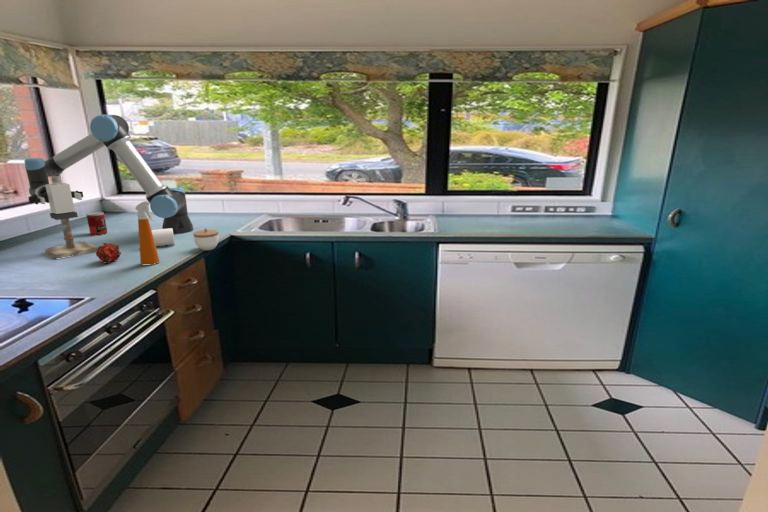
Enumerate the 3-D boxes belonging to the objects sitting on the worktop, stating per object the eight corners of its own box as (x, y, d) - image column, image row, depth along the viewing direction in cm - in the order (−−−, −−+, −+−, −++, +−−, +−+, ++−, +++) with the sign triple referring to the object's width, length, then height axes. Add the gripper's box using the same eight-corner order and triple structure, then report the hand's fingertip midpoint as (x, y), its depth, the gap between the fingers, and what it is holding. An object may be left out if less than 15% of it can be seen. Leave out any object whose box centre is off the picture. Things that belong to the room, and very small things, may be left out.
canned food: (99, 236, 230) (95, 215, 227) (86, 235, 232) (82, 214, 229) (111, 232, 238) (107, 212, 234) (98, 231, 239) (94, 211, 236)
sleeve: (69, 209, 202) (64, 182, 198) (75, 211, 197) (69, 184, 194) (51, 212, 196) (45, 184, 193) (56, 213, 192) (50, 185, 189)
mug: (175, 246, 211) (172, 230, 208) (151, 249, 207) (148, 232, 204) (174, 240, 221) (171, 224, 219) (151, 243, 217) (149, 227, 215)
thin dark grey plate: (71, 214, 203) (70, 210, 202) (77, 217, 198) (76, 212, 198) (50, 217, 197) (49, 213, 197) (56, 220, 192) (55, 215, 192)
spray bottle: (152, 268, 179) (141, 203, 172) (137, 264, 185) (126, 200, 177) (168, 263, 185) (159, 200, 177) (153, 259, 191) (143, 198, 183)
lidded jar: (196, 253, 200) (194, 232, 197) (194, 247, 209) (191, 227, 206) (221, 249, 205) (219, 229, 202) (218, 244, 214) (216, 225, 211)
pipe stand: (85, 245, 213) (70, 173, 203) (98, 251, 203) (83, 175, 193) (45, 252, 201) (27, 176, 191) (56, 259, 191) (38, 179, 182)
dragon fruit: (115, 260, 195) (111, 272, 185) (94, 251, 191) (89, 263, 181) (125, 244, 194) (121, 256, 184) (105, 235, 189) (99, 246, 179)
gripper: (80, 198, 216) (96, 203, 203) (15, 206, 198) (29, 211, 185) (76, 183, 214) (93, 187, 201) (11, 189, 196) (25, 193, 183)
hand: (62, 198), depth 193 cm, fingers open, 13 cm apart
